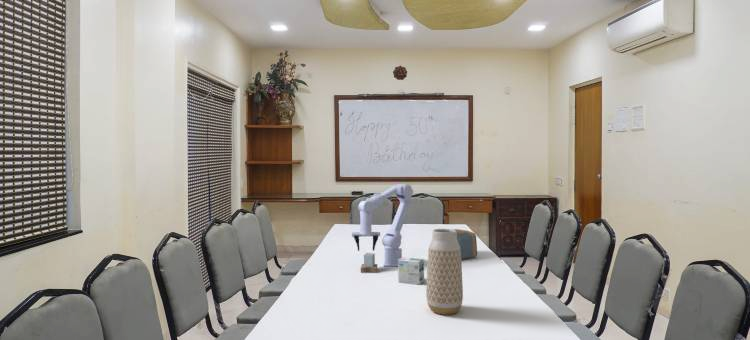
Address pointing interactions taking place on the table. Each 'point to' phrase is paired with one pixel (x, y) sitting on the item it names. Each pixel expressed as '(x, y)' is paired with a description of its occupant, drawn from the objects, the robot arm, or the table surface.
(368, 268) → the walnut base
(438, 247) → the vase
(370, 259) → the grey block
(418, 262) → the light bulb box
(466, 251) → the alarm clock
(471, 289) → the table surface
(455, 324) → the table surface
